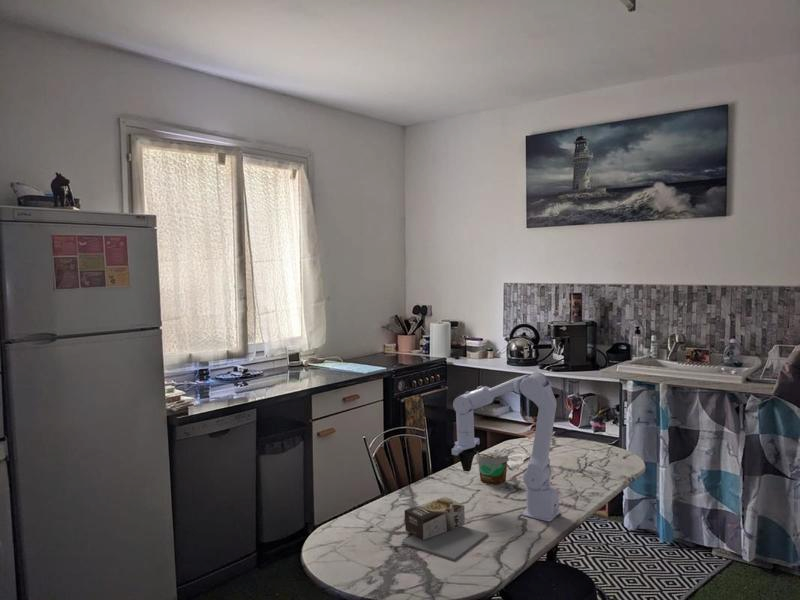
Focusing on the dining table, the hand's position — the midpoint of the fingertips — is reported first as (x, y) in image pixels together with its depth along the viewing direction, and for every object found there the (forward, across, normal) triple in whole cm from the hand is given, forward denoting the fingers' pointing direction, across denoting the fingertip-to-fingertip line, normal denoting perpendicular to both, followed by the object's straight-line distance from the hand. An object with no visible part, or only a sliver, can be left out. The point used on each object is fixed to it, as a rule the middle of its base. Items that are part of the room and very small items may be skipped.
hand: (466, 470), depth 198 cm
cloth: (+11, -43, -5) cm, 45 cm away
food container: (+11, -19, -2) cm, 22 cm away
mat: (+10, +28, +9) cm, 31 cm away
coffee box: (+7, +16, +5) cm, 18 cm away
